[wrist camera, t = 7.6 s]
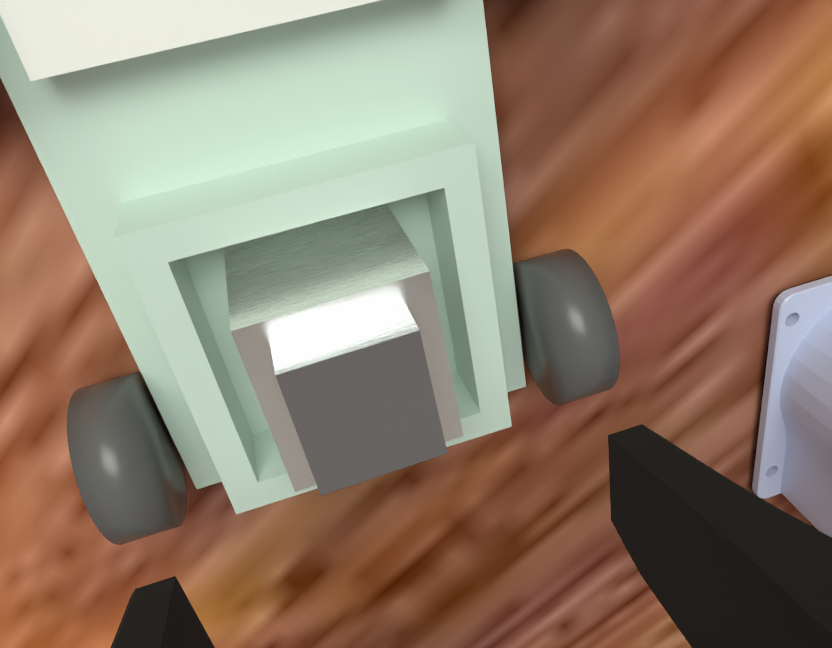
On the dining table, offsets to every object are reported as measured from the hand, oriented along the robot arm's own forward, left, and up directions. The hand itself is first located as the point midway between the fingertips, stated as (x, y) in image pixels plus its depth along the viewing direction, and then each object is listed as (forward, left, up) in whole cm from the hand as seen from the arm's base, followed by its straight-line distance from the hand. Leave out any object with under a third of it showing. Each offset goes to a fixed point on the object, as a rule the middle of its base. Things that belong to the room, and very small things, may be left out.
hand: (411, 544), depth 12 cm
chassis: (+4, 0, -9) cm, 10 cm away
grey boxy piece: (0, 0, -8) cm, 8 cm away
